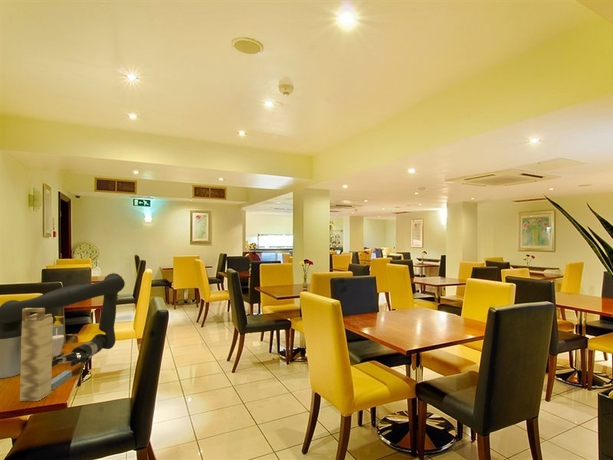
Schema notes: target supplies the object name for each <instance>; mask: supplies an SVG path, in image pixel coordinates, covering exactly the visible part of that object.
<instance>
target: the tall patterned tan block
mask: <svg viewBox="0 0 613 460" xmlns="http://www.w3.org/2000/svg"><path fill="white" fill-rule="evenodd" d="M30 312H37V313H36V314H33V315H31V316H30ZM53 325H54V317H53V314H52V313H48V314H46V311H45V308H25V309H22V339H21V373H20V375H19V377H20V378H19V380H20V381H19V382H20V385H19V402H20V401H39V400H40V401H42V400H43V399H42V398H44V397H45V396H47V395H48V396H49V394H50V395H51V394H52V391H51V380H52V376H53V375H52V371H53V368H52V361H53V356H52V334H53ZM48 396H47V397H48ZM45 398H46V397H45ZM45 398H44V399H45ZM41 399H42V400H41ZM40 401H39V402H40Z"/></svg>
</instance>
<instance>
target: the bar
mask: <svg viewBox="0 0 613 460" xmlns="http://www.w3.org/2000/svg"><path fill="white" fill-rule="evenodd" d="M70 377H71V378H72V377H73V370H64V371H62V372H61V373H60V374H58V375H56V376H55V377H54V378H51V390H53V391H54V390H56V389H57V388H58V387H60V386H61V385H63V384H64V383H65V382H67V381H68V380H69V379H71V378H70Z"/></svg>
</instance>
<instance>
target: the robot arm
mask: <svg viewBox="0 0 613 460" xmlns="http://www.w3.org/2000/svg"><path fill="white" fill-rule="evenodd" d="M125 285H126V282H125V279H124V278H123V277H122V276H121V275H120V274H118V273H115V272H112V273H110V274H109V273H108V275H106V276H105V277H104V279H102V280H99V281H96V282H93V283H84V284H74V285H68V286H65V287H60V288H57V289H54V290H51V291H48V292H46V293H44V294H41V295H39V296H36V297H33V298H28V299H24V300H17V299H11V300H8V301H7V300H6V301H5V302H3V303H2V304H1V305H0V379H6V378H11V377H15V376H17V375H21V339H22V309H25V308H45V312H48V311H53V310H56V309H61V308H65V307H68V306H72V305H75V304H78V303H81V302H85V301H88V300H91V299H94V298H97V297H102V296H103V301H102V307H101V312H100V317H99V324H98V331H101V332H103V333H98V334H96V335H94V336H93V338H92V339H91V340H89V341H87V342H84V343H82V344H80V345H78V346H77V347H75V348H73V349H72V351H71V352H69V353H66V354H65V353H63V352H61V354H60V355H58V356H52V367H55V366H57V365H59V364H67V363H70V367H74V366H77V365H78V364H79V365H80V364H86V363H88V362H89V361H90V360H92V357H94V355H96V354H98V353H99V352H101V351H102V349H104V350H110V349H112V348H113V347H114V346H115V344H116V334H115V322H116V316H117V298H118V294H119V292H121V291H122V290H124V288H125ZM34 314H37V312H30V316H31V315H34ZM104 333H105V334H104Z"/></svg>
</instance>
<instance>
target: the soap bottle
mask: <svg viewBox="0 0 613 460" xmlns="http://www.w3.org/2000/svg"><path fill="white" fill-rule="evenodd" d="M64 317H65V316H64V315H63V316H57V315H55V316H54V318H55V321H54V322H53V334H52V336H56V328H57V335H64V336H65V332H64V331H65V330H64V327H65V325H64V324H63V323H62V322H61V321H60V319H61V318H64ZM64 346H65V337H64V338H63V344H62V349H63V347H64Z"/></svg>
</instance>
